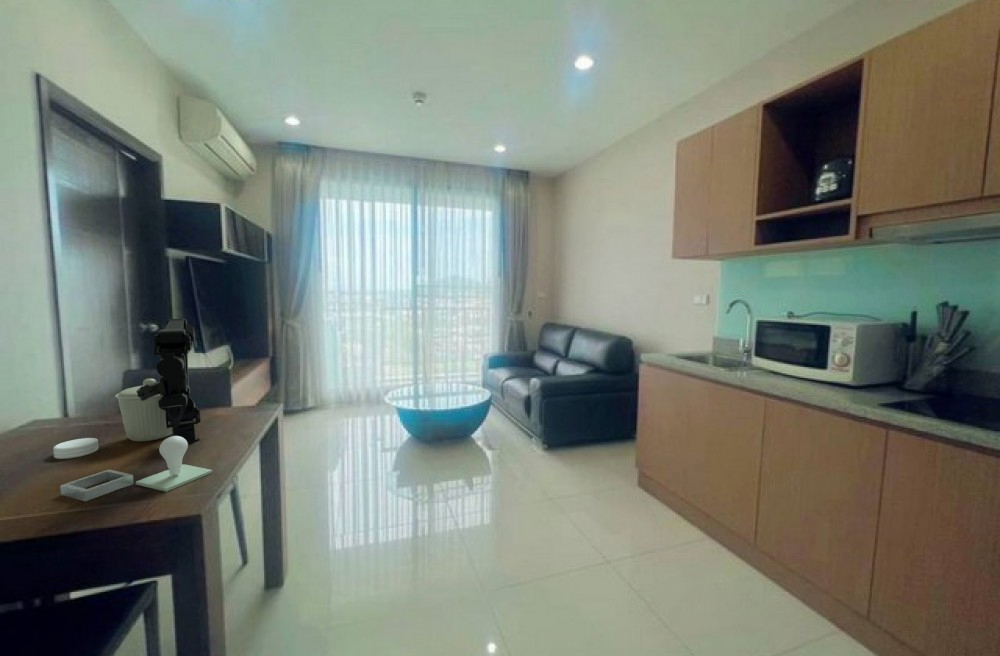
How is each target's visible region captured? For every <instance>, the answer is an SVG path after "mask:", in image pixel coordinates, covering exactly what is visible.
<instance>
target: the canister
mask: <svg viewBox="0 0 1000 656" xmlns="http://www.w3.org/2000/svg"><path fill="white" fill-rule="evenodd" d="M156 382H157V380H156V379H154V378H145V379H144V380H143V382H142V384H143V385H138V386H133V387H128V388H126V389H124V390H121V391H120V392H119V393H116V394H115V395H114V398H116V399H118V401H117V402H118V406H119V409H120V410H119V411H120V414H121V419H122V423H123V428H124V431H125V432H124V433H125V435H126V436H127V438H128V439H129V440H130V441H132V442H149V441H156V440H159V439H160V440H161V439H163V438H164V439H165V438H168V437H169V436H170V437H171V435H172V427H171V428H167V425H166V411H165V410H163V409H160V408H159V404H158V401H159V399H160V398H161V397H162V396H163V395H162V396H160V394H158V395H155V396H152V397H150V398H148V399H146V400H144V401H141V399H140V397H138V394H137V392H136V391H137V390H138V389H139V388H140V387H141V386H145V385H147V384H148V385H150V384H153V383H156ZM170 423H171V422H170Z"/></svg>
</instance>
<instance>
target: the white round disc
mask: <svg viewBox="0 0 1000 656" xmlns="http://www.w3.org/2000/svg"><path fill="white" fill-rule="evenodd" d="M99 447H100V446H99V439H97V438H95V437H94V438H93V437H85V438H84V437H83V438H77V439H72V440H67V441H64V442H61V443H58V444H56V445H55V446H53V448H52V449H53V452H52V453H53V457H54V458H55V459H58V460H62V459H63V460H64V459H65V460H66V459H73V458H74V459H75V458H79V457H82V456H83V457H84V456H87V455H90V454H92V453H96V452H97V451H98V450H99Z"/></svg>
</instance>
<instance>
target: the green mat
mask: <svg viewBox="0 0 1000 656" xmlns="http://www.w3.org/2000/svg"><path fill="white" fill-rule="evenodd" d="M213 471H214V470H213V469H210V468H209V469H208V468H204V467H199V466H194V465H190V464H183V463H182V465H181V472H180V473H179V474H178V475H176V476H173V475H170V474H169V469H167V470H163V471H161V472H158V473H155V474H152V475H149V476H147V477H144V478H142V479H140V480H137V481H135V485H136V486H137V485H138V486H142V487H145V488H149V489H153V490H158V491H161V492H166V493H167V492H168V491H169V492H170V491H171V490H173V489H176V488H179V487H181V486H184V485H185V484H189V483H191V482H193V481H196V480H198V479H201V478H203V477H205V476H208V475H211V474H213Z"/></svg>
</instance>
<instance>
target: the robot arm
mask: <svg viewBox="0 0 1000 656" xmlns="http://www.w3.org/2000/svg"><path fill="white" fill-rule="evenodd" d="M194 327H195V326H193V325H192V324H189V322H188V321H187V319H186V318H185V319H184V318H169V319H167V321H166V324H165V326H164V327H163V329H159V330H158V332H157V334H155V335H154V347H153V348H154V349H153V354H154V356H160V360H159V361H158V362H157V365H156V368H155V369H156V371H157V374H159V375H160V378H159V381H156V383H153V384H150V385H148V384H147V385H145V386H144V385H140V386H141V387H140V388H139V389H138V390H137V391H136V392H137V394H138V397H140V399H141V401H144V400H146V399H148V398H150V397H152V396H155V395H158V394H160V396H162V395H163V396H162V397H161V398H160V399H159V401H158V404H159V408H160V409H163V410H165V411H166V425H167V428H171V427H172V434H171V435H172V436H180V437H183V438H184V439H185V440H186V441H187V443H188V445H189V444H191V443H194V442H198V441H200V438H199V437H196V428H195V425H198V424H200V423H201V420H202V419H201V412H200V411H201V410H199V408H198V406H196V403H195V401H194V400H193V399H192V397H191V396H190V394H191V389H190V388H191V386H190V384H189V383H190V382H189V355H188V354H189V353H190V352H191V350H192V349H193V348H194V342H196V334H195V328H194ZM170 422H171V423H170Z"/></svg>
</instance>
